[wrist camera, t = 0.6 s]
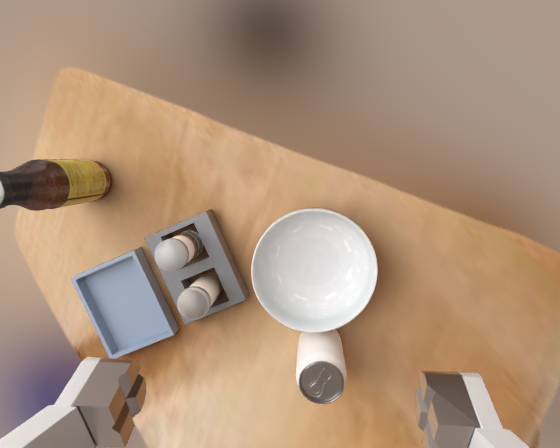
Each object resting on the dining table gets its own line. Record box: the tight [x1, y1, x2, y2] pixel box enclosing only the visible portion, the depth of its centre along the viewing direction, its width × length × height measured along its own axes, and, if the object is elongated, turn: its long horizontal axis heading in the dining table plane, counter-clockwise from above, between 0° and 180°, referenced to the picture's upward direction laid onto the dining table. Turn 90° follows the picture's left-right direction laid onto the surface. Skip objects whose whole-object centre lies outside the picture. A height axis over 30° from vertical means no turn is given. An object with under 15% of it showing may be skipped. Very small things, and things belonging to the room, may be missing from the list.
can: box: [296, 329, 347, 404], centre depth 55 cm, size 6×6×12 cm
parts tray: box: [71, 247, 179, 359], centre depth 62 cm, size 14×11×2 cm
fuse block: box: [144, 210, 249, 324], centre depth 57 cm, size 14×10×9 cm
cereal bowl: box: [251, 208, 378, 333], centre depth 56 cm, size 17×17×7 cm
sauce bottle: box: [0, 159, 111, 211], centre depth 51 cm, size 7×6×20 cm
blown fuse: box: [155, 230, 205, 272], centre depth 56 cm, size 4×4×9 cm
